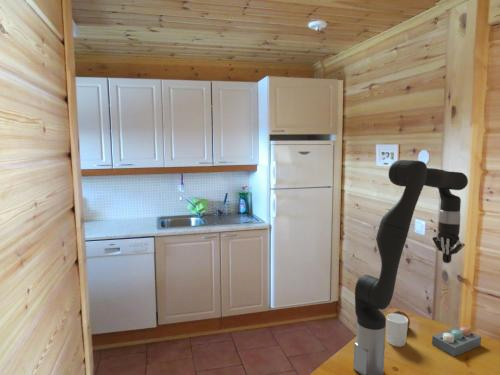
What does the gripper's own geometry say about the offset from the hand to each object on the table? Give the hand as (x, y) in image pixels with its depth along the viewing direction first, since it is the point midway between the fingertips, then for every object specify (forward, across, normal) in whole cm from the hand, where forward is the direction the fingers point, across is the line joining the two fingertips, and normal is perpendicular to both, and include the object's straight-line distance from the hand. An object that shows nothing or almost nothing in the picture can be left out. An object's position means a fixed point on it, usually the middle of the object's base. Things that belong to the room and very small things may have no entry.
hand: (446, 262), depth 145 cm
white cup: (+29, -2, -25) cm, 38 cm away
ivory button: (+28, +10, -11) cm, 32 cm away
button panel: (+29, +10, -6) cm, 31 cm away
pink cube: (+28, +10, -1) cm, 30 cm away
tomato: (+29, -9, -15) cm, 34 cm away
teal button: (+28, +10, -6) cm, 30 cm away
